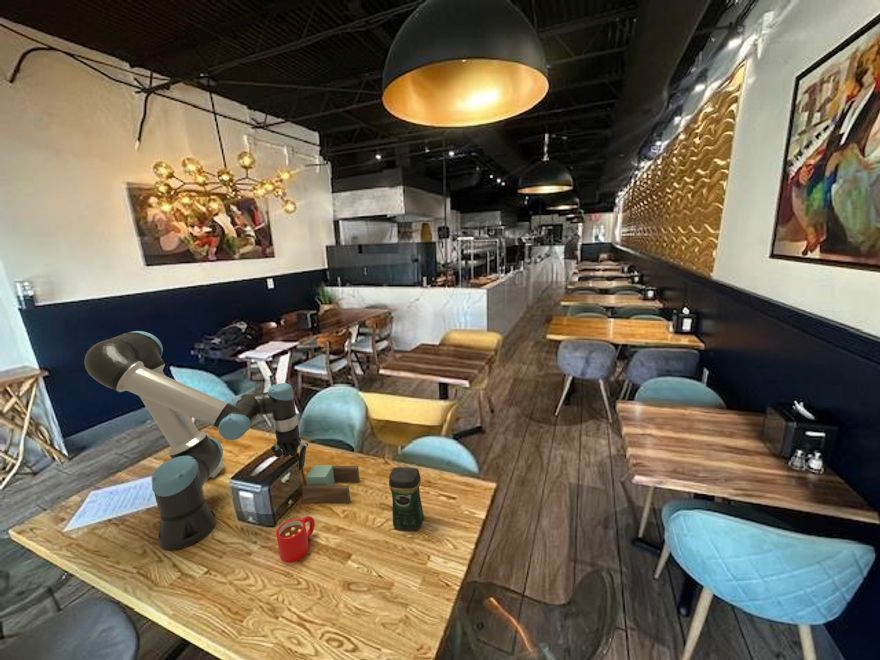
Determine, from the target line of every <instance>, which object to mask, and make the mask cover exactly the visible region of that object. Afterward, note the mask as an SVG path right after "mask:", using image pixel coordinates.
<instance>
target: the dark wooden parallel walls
mask: <svg viewBox="0 0 880 660" xmlns="http://www.w3.org/2000/svg"><path fill="white" fill-rule="evenodd" d="M333 473H334V481H335V483H360V470H359V465H333ZM301 493H302V498H301V500H300V504H346V505H347V504H350V503H351V497H350V496H351V494H350V487H349V485H342V484H341V485H340V484H339V485H337V484H335V485H307V484H306V485H302V487H301Z"/></svg>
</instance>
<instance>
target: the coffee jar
mask: <svg viewBox="0 0 880 660" xmlns="http://www.w3.org/2000/svg"><path fill="white" fill-rule="evenodd" d="M420 474H421V473H420V470H419V469H418V468H416V467H408V466H406V467H405V466H403V467H402V466H399V467H398V466H396V467H393V468H392V470H391V471H390V473H389V478H388V487H389V489H390V492H391V498H392V514H391V515H392V525H393V527H394V529H397V530H401V531H402V530H403V531H417V530H418V529H420V528H421V527H422V525H423V522H424V518H425V517H424V516H425V515H424V509H423V505H422V501H421V500H422V499H421V493H420V487H421V482H422V478H421V475H420Z"/></svg>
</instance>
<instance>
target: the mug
mask: <svg viewBox="0 0 880 660" xmlns="http://www.w3.org/2000/svg"><path fill="white" fill-rule="evenodd" d="M307 522H309V527H308V531H307V528H306V527H307V526H306V523H307ZM314 530H315V519H314V518H313V516H310V515H309V516H305V517H304V518H292V519H289V520H286V521H285V522H283V523H282V524H280V525H279V526H278V528H277V529H276V532H275V535H276V540H277V546H278V552H279V557H280V560H281V561H282V562H284V563H290V564H291V563H294V562H298V561H299V560H301V559H302V558H304V557H305V556H306V554H308V552H309V548H310V546H309V541H308V540H309V539H310V537H311V536H312V535H313V532H314Z"/></svg>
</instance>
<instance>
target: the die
mask: <svg viewBox="0 0 880 660" xmlns="http://www.w3.org/2000/svg"><path fill="white" fill-rule="evenodd" d="M225 467H226V466H225V461H224V458H223V456H222V459H221V461H220V463H219V465H218V467H217V468H216V469H215V470H214V471H213V473H212V474H211V475H210V477H209V478H212V479H215V477H217V475H218V474H219V473H220V472H221V471H222V470H223V469H224V468H225Z"/></svg>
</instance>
